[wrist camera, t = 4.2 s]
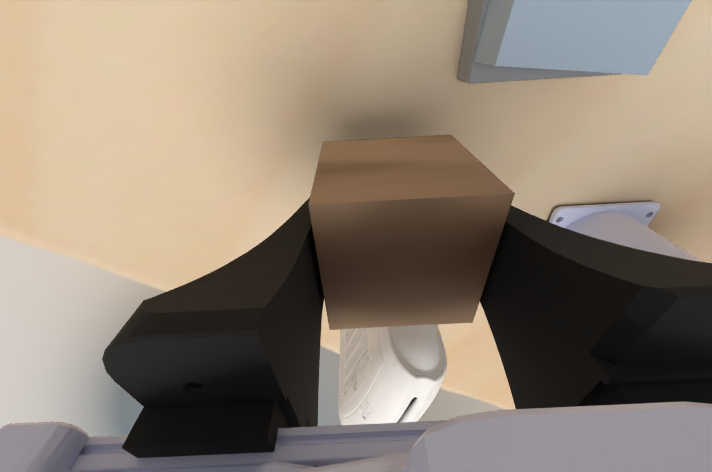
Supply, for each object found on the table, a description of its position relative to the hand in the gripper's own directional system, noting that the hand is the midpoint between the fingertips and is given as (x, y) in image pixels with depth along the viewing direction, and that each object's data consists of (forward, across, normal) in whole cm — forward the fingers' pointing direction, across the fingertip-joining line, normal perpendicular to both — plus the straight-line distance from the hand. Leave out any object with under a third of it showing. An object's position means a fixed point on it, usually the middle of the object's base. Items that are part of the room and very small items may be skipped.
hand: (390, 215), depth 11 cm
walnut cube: (+2, 0, 0) cm, 2 cm away
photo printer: (+9, 0, +12) cm, 16 cm away
